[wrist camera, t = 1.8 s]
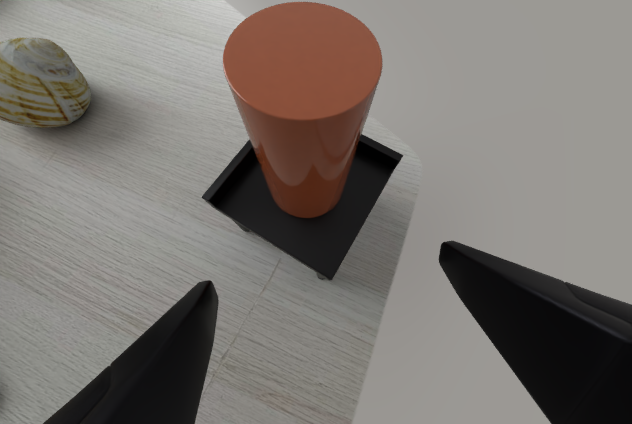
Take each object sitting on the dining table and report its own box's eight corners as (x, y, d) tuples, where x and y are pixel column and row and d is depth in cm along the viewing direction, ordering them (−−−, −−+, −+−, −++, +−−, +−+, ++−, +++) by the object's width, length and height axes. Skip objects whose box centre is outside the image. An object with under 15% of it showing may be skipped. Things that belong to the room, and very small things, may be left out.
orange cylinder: (356, 172, 18) (408, 37, 9) (319, 232, 16) (332, 149, 7) (295, 139, 19) (281, -18, 9) (254, 193, 17) (187, 72, 8)
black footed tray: (374, 198, 25) (403, 155, 17) (324, 284, 22) (333, 279, 14) (292, 153, 26) (285, 95, 19) (236, 228, 24) (201, 197, 16)
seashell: (-15, 84, 27) (-90, -25, 20) (98, 94, 33) (73, 12, 25) (-22, 154, 24) (-116, 55, 16) (105, 152, 29) (79, 77, 22)
